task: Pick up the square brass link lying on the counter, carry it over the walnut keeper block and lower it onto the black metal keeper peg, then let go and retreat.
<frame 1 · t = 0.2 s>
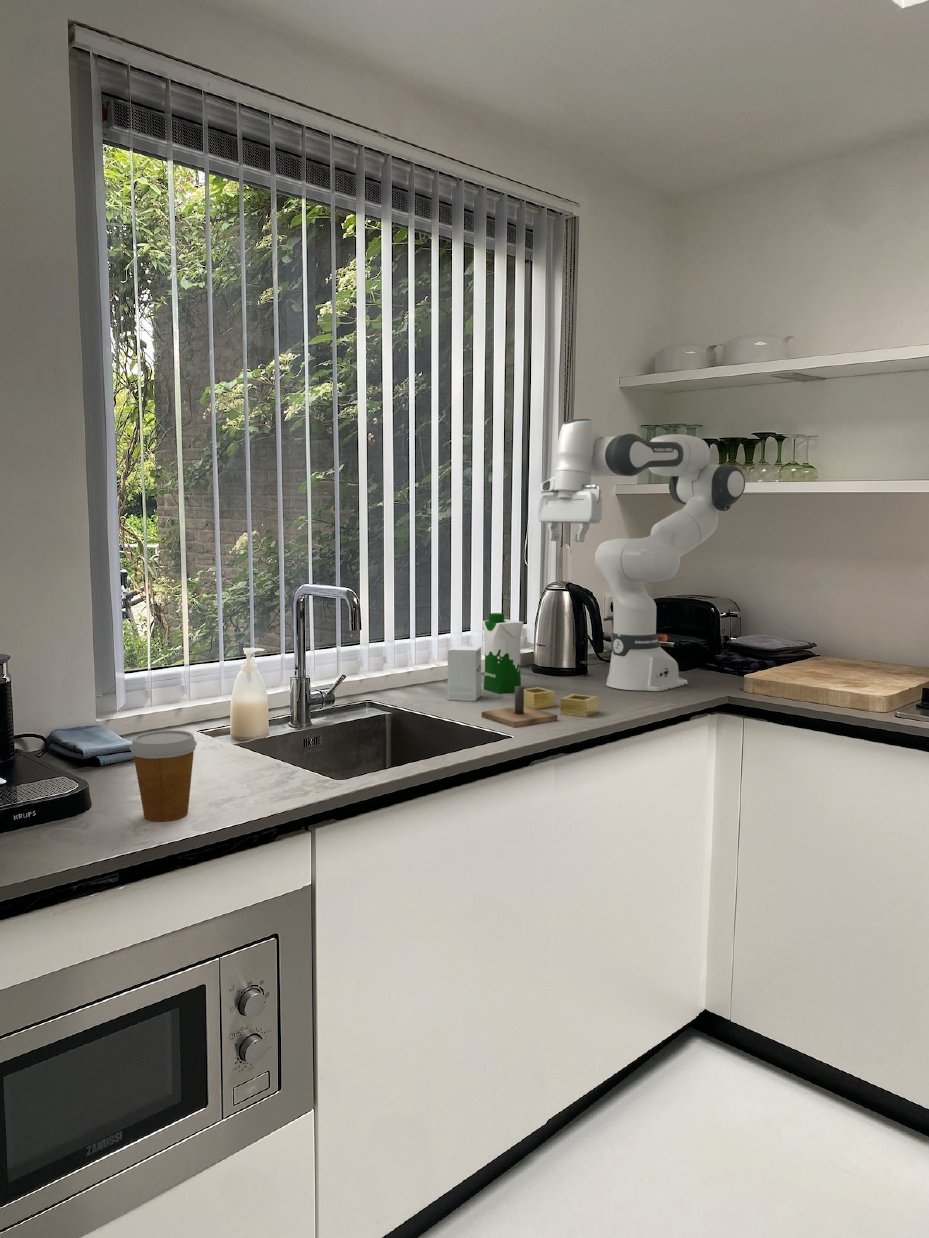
hand: (566, 541, 223), 39 cm above the counter, tool pointing down, fingers open, 8 cm apart
supplement box: (464, 698, 224), on the counter
milk carton: (502, 690, 235), on the counter
disposable coffee cup: (166, 816, 136), on the counter
keeper: (519, 718, 201), on the counter
link a: (536, 705, 216), on the counter
link b: (579, 712, 207), on the counter
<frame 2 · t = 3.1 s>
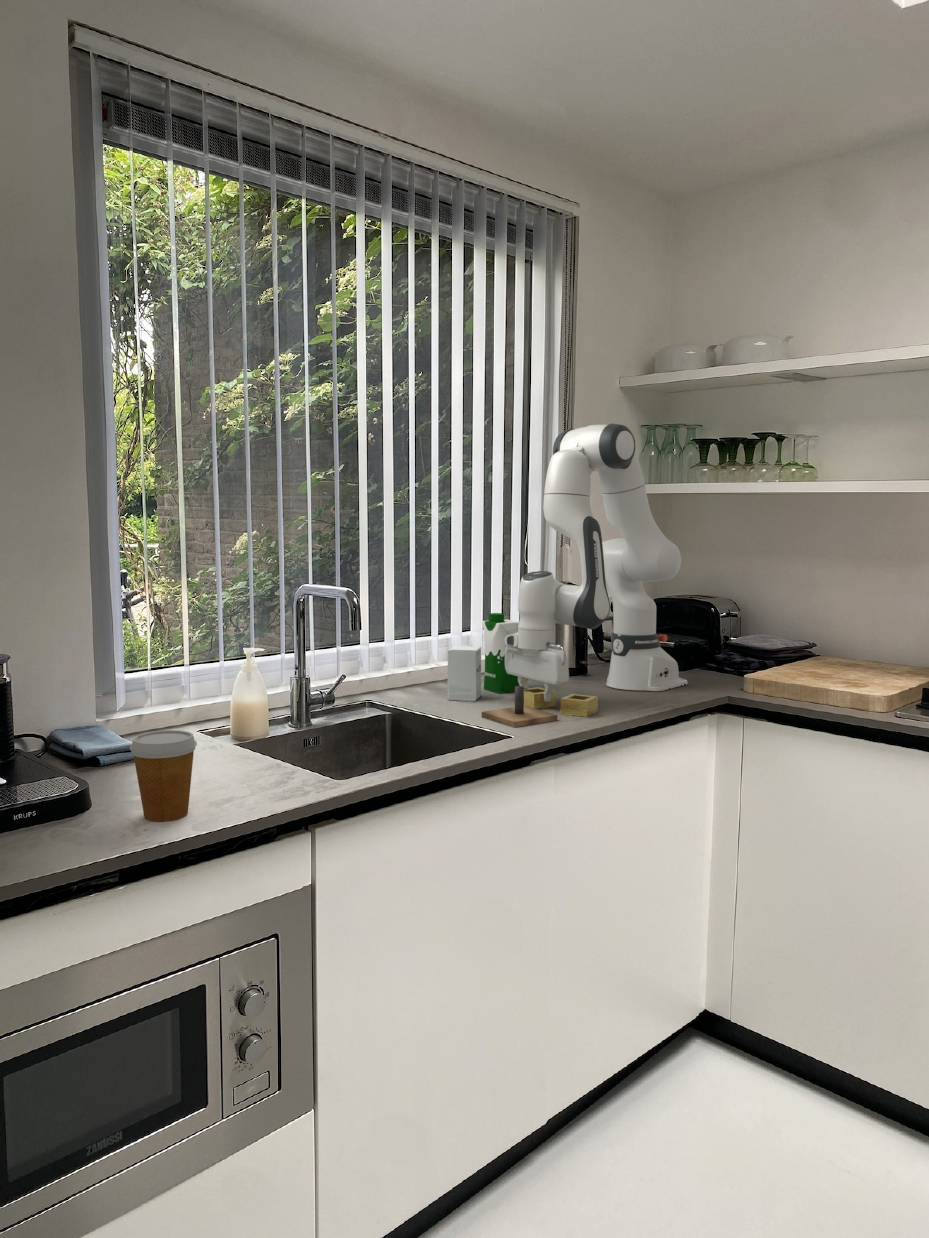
hand: (535, 698, 215), 2 cm above the counter, tool pointing down, fingers closed on link a, 6 cm apart
link a: (535, 705, 216), on the counter, touching gripper
everything else where it was.
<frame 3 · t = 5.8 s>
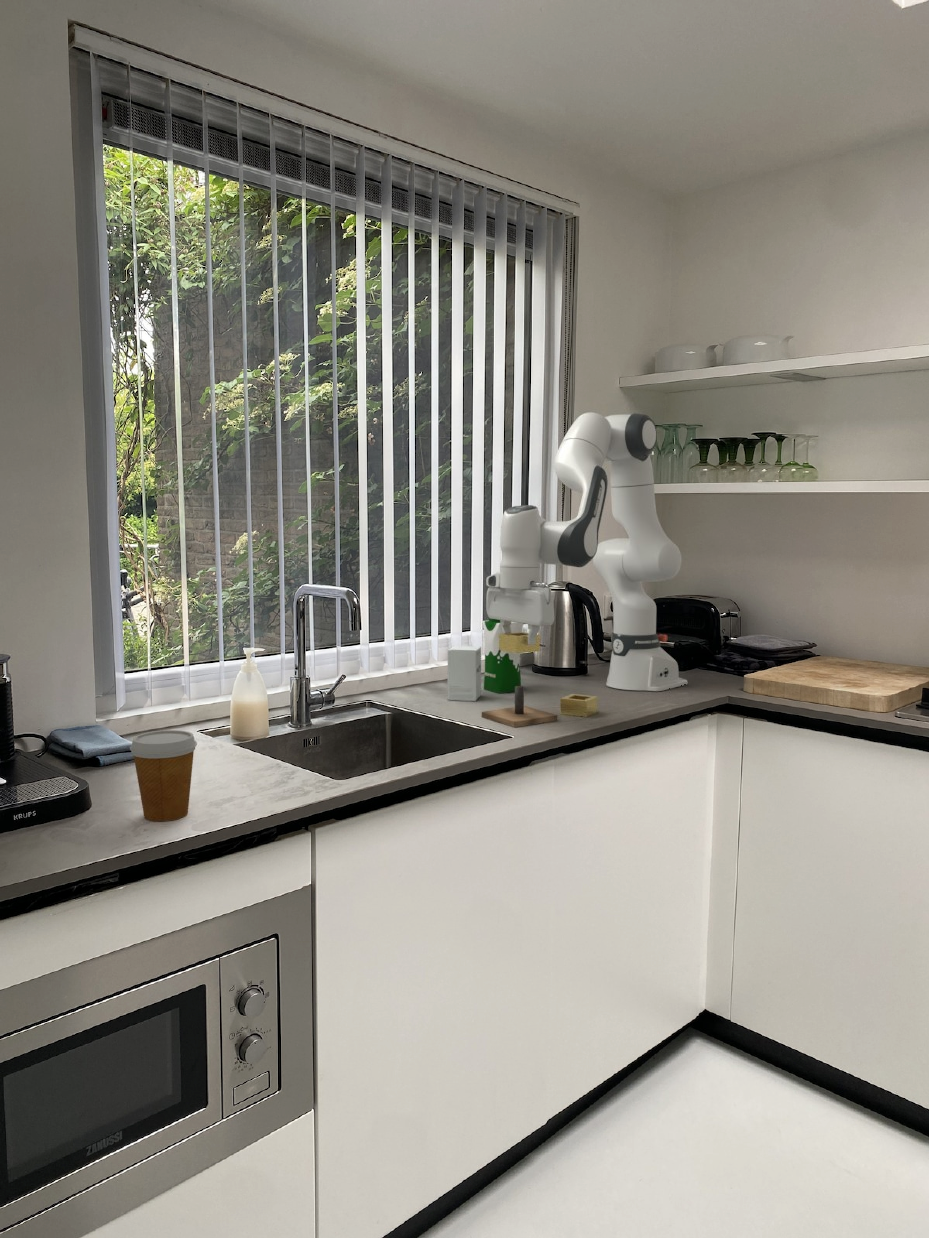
hand: (519, 642, 199), 17 cm above the counter, tool pointing down, fingers closed on link a, 6 cm apart
link a: (519, 650, 200), point 15 cm above the counter, touching gripper
everything else where it was.
when the fingers open (5 cm above the counter, at t = 8.1 s): link a drops 2 cm, resting on keeper.
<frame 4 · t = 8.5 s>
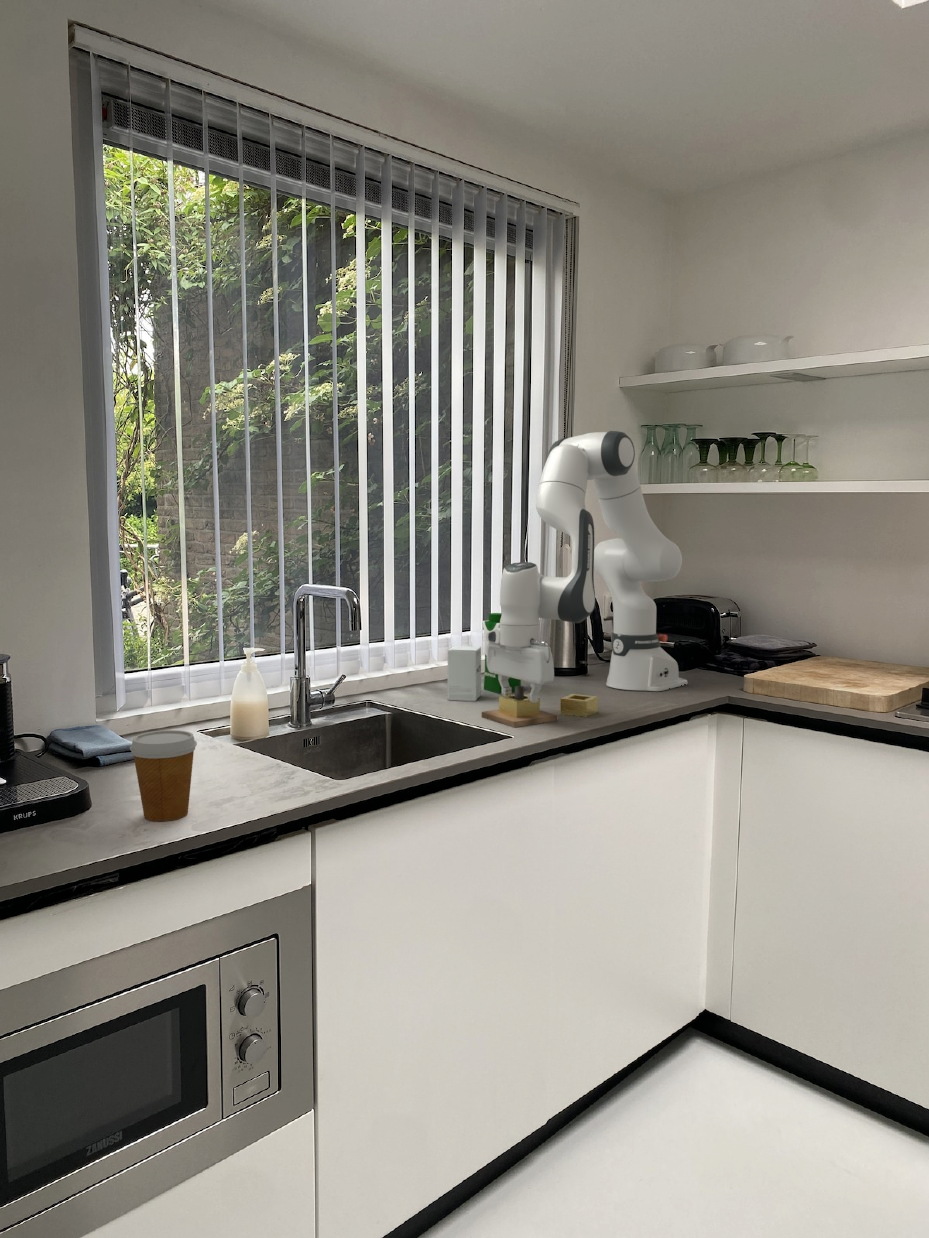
hand: (519, 698, 201), 5 cm above the counter, tool pointing down, fingers open, 8 cm apart
link a: (519, 713, 201), point 1 cm above the counter, touching keeper
everything else where it was.
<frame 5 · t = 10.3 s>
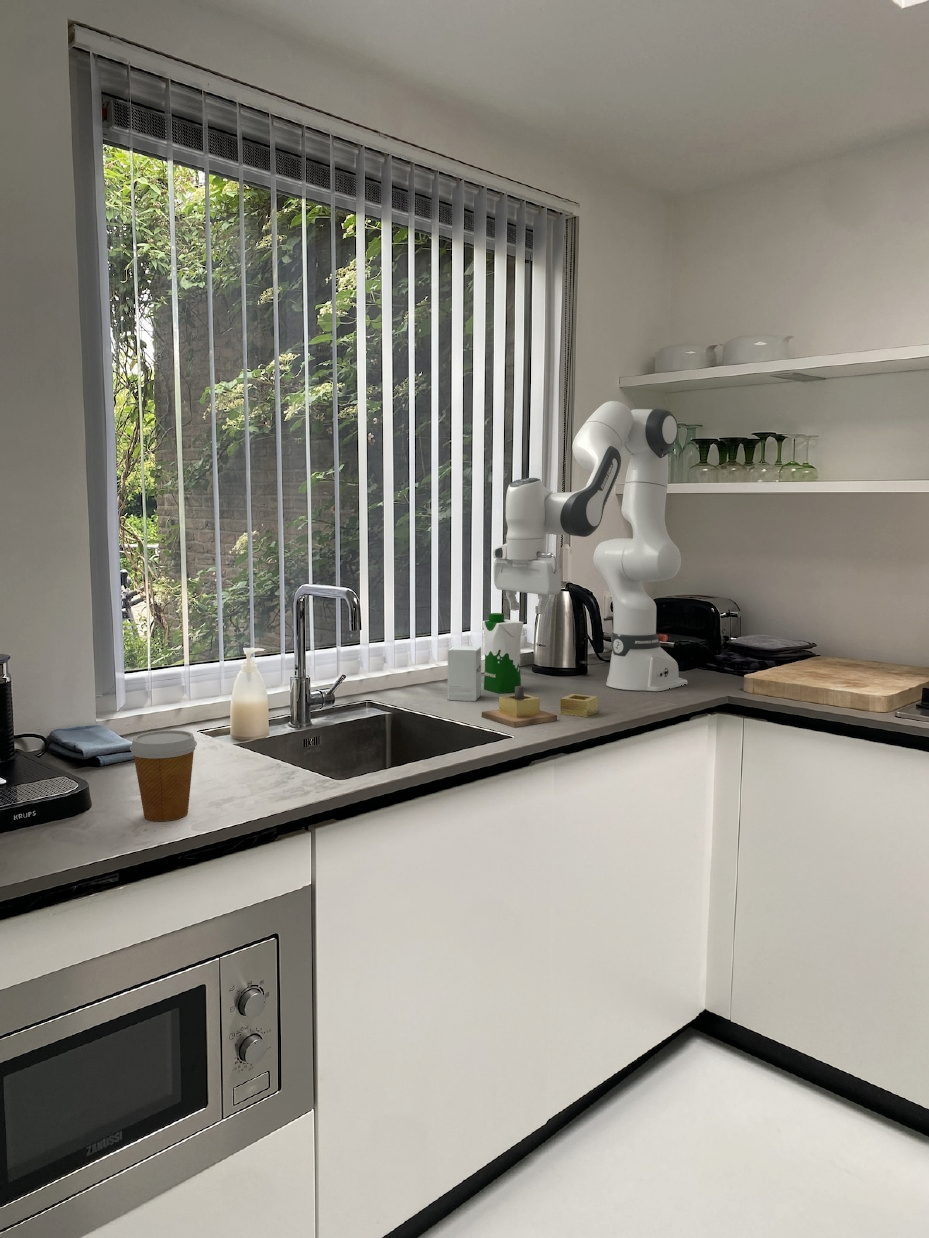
hand: (527, 612, 206), 23 cm above the counter, tool pointing down, fingers open, 8 cm apart
nothing on the counter moved.
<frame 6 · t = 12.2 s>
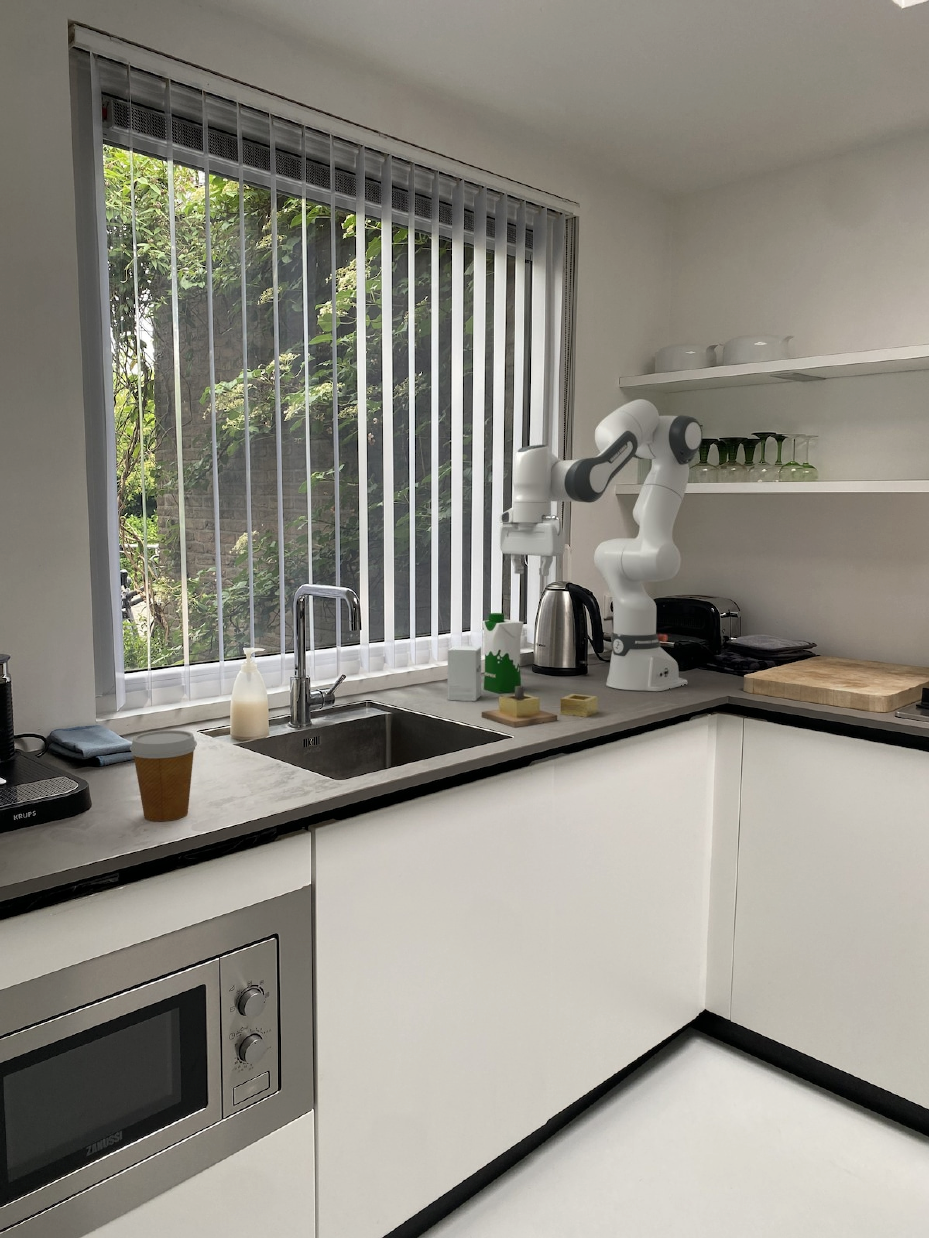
hand: (531, 574, 212), 31 cm above the counter, tool pointing down, fingers open, 8 cm apart
nothing on the counter moved.
at the end: link a 0.1 cm off-centre on the keeper, point 1.2 cm above the keeper's base; the gripper is holding nothing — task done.
